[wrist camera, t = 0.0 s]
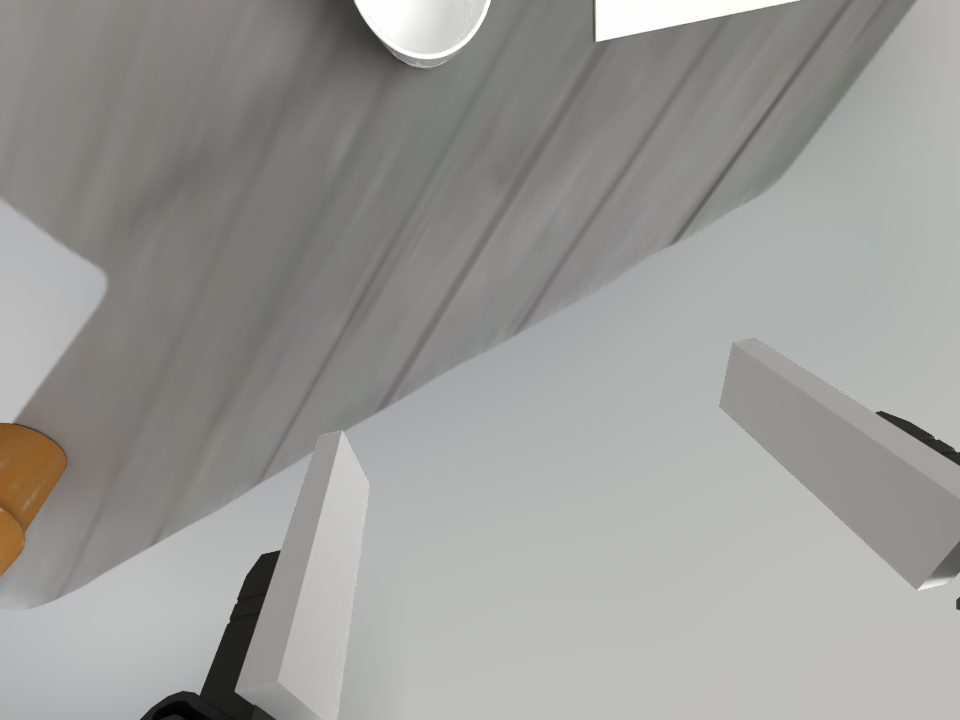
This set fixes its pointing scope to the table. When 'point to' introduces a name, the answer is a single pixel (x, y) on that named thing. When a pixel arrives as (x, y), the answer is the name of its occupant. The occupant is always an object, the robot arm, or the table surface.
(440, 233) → the table surface
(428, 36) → the white cup
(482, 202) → the table surface
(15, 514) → the flower pot
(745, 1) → the card
